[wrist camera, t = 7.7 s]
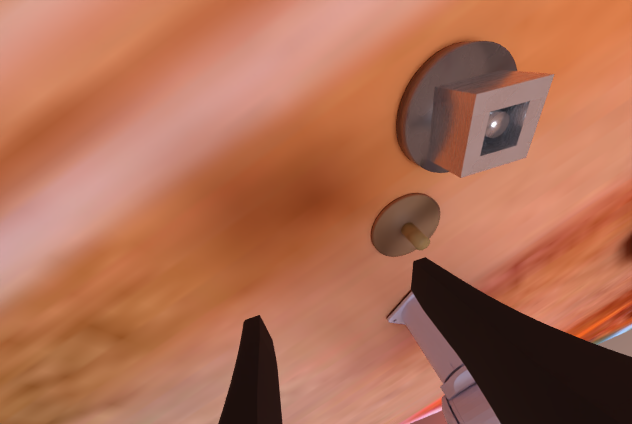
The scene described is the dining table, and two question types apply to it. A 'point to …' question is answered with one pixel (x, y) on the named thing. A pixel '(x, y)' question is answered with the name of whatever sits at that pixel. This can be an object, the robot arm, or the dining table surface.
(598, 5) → the dining table surface
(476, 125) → the square tube sleeve
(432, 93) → the hub
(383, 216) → the stand
